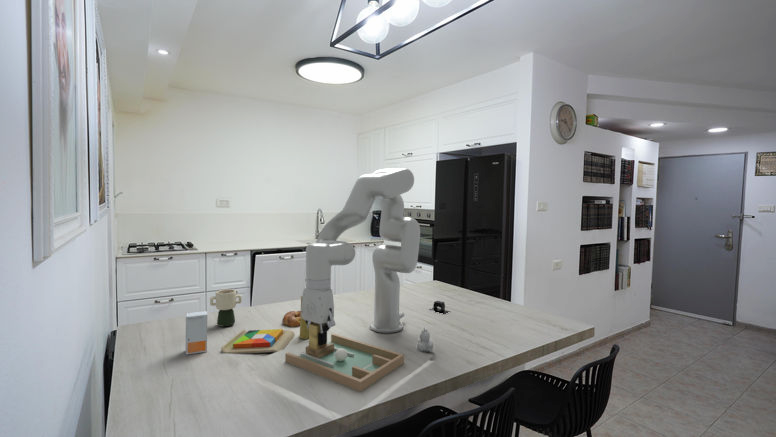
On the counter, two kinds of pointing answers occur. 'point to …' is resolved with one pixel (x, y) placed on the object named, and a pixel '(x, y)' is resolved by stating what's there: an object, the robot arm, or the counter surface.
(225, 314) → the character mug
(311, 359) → the pitch
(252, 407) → the counter surface
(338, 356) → the ball
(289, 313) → the sesame bagel
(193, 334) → the skincare box
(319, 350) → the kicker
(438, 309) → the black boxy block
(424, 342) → the grey figurine
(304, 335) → the vase
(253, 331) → the wooden puzzle
